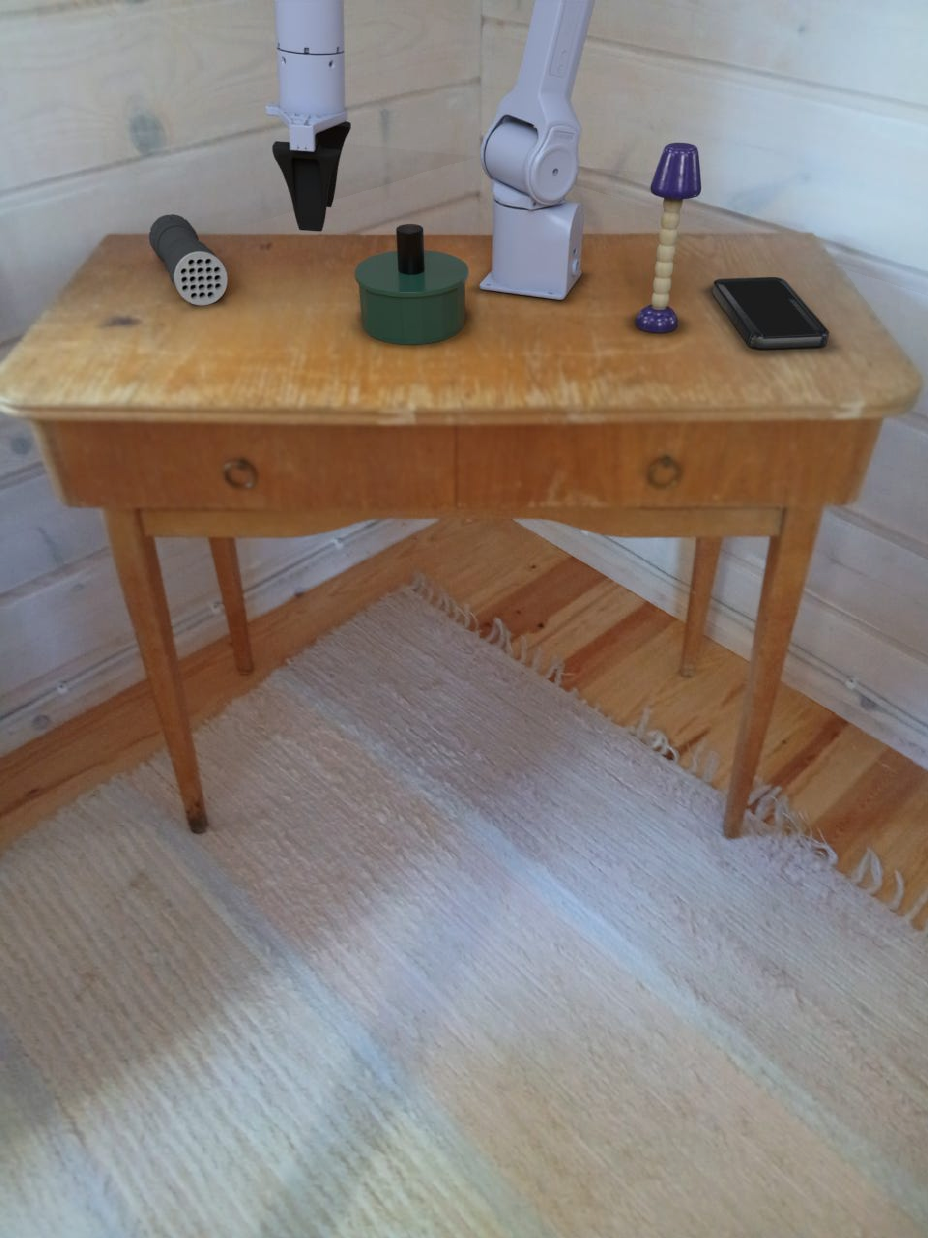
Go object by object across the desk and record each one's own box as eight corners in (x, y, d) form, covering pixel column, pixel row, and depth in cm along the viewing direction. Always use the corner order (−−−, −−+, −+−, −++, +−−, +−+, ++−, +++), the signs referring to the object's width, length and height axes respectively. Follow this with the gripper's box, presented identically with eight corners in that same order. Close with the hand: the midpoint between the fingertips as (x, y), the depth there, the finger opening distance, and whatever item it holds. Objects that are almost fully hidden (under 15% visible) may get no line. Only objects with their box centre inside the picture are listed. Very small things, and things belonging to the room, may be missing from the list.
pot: (478, 309, 99) (478, 262, 96) (443, 351, 92) (442, 301, 89) (387, 296, 102) (384, 250, 99) (345, 335, 95) (341, 287, 92)
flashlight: (151, 261, 110) (140, 212, 107) (197, 253, 112) (188, 205, 109) (180, 309, 100) (170, 257, 96) (231, 300, 101) (222, 248, 98)
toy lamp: (629, 314, 98) (649, 139, 87) (673, 312, 99) (699, 137, 88) (640, 334, 95) (663, 154, 84) (686, 332, 95) (714, 152, 84)
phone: (753, 339, 91) (711, 278, 102) (751, 350, 92) (709, 288, 103) (834, 335, 91) (783, 276, 103) (831, 346, 92) (781, 286, 103)
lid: (483, 267, 97) (484, 216, 93) (444, 310, 89) (443, 255, 86) (382, 254, 100) (379, 203, 96) (336, 294, 92) (331, 240, 88)
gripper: (276, 33, 86) (284, 192, 94) (247, 59, 75) (259, 238, 83) (354, 39, 86) (356, 197, 95) (337, 66, 75) (340, 243, 83)
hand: (316, 217), depth 89 cm, fingers open, 7 cm apart
